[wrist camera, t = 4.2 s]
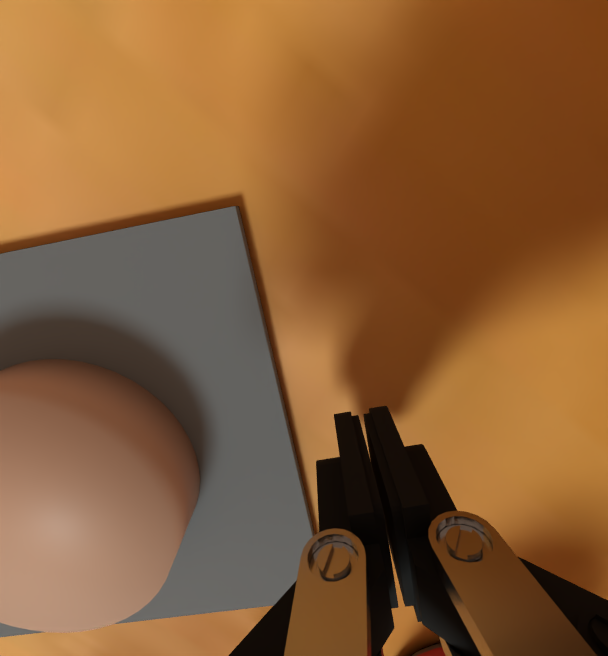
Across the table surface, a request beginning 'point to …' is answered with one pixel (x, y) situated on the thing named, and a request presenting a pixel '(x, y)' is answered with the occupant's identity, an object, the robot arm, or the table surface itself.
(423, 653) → the beer can
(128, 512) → the pinkish beige domed disc
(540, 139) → the table surface
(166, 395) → the slate mat
